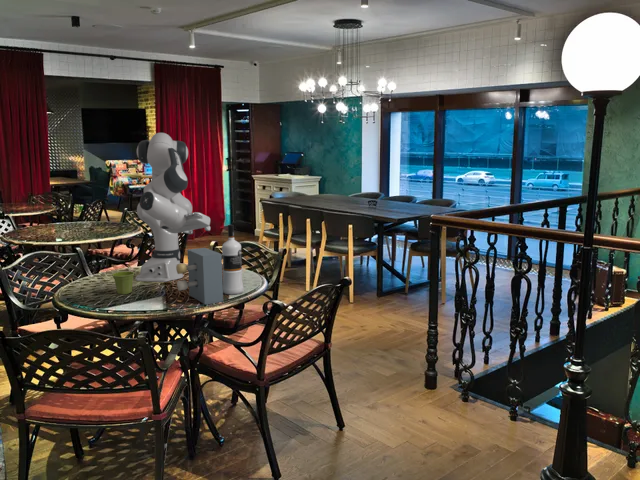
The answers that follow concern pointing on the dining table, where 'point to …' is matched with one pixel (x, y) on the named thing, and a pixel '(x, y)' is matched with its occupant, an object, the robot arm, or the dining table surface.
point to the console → (206, 275)
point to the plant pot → (123, 282)
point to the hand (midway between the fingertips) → (200, 230)
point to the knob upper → (184, 268)
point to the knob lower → (185, 284)
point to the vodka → (232, 265)
